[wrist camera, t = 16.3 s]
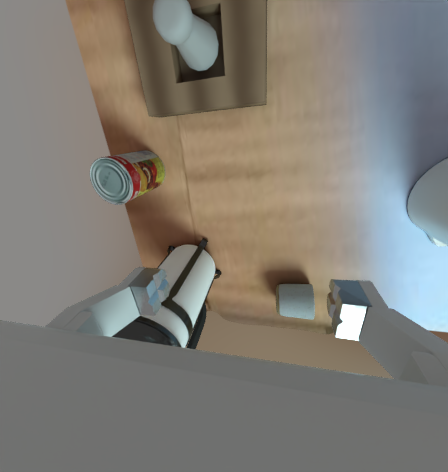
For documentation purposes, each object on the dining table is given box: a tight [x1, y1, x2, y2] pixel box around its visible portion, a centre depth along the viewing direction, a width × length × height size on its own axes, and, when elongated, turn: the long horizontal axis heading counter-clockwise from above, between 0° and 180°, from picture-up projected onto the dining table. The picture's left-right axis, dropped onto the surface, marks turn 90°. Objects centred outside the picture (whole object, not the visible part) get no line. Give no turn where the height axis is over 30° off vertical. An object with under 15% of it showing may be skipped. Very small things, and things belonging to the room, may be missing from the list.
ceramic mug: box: [276, 284, 315, 319], centre depth 49 cm, size 11×8×8 cm
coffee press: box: [112, 238, 221, 349], centre depth 41 cm, size 17×16×30 cm
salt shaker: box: [153, 0, 219, 71], centre depth 27 cm, size 6×6×13 cm
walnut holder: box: [124, 0, 267, 117], centre depth 32 cm, size 20×16×4 cm
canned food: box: [90, 150, 165, 205], centre depth 40 cm, size 8×8×12 cm
